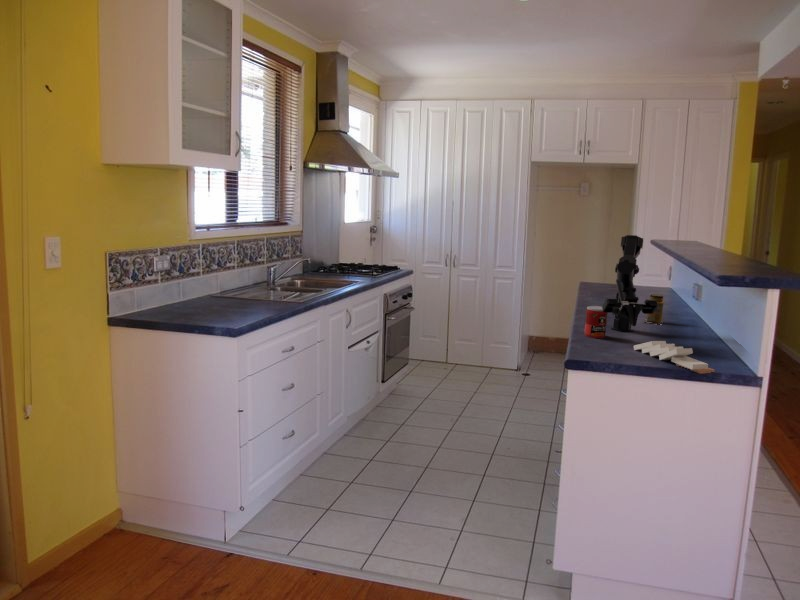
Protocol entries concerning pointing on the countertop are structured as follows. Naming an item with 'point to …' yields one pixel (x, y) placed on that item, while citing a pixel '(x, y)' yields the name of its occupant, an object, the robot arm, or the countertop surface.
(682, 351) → the domino
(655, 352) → the domino
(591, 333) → the canned food
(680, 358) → the domino
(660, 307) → the condiment
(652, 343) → the domino
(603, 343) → the countertop surface
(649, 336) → the countertop surface
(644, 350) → the domino
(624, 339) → the countertop surface
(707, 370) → the domino
